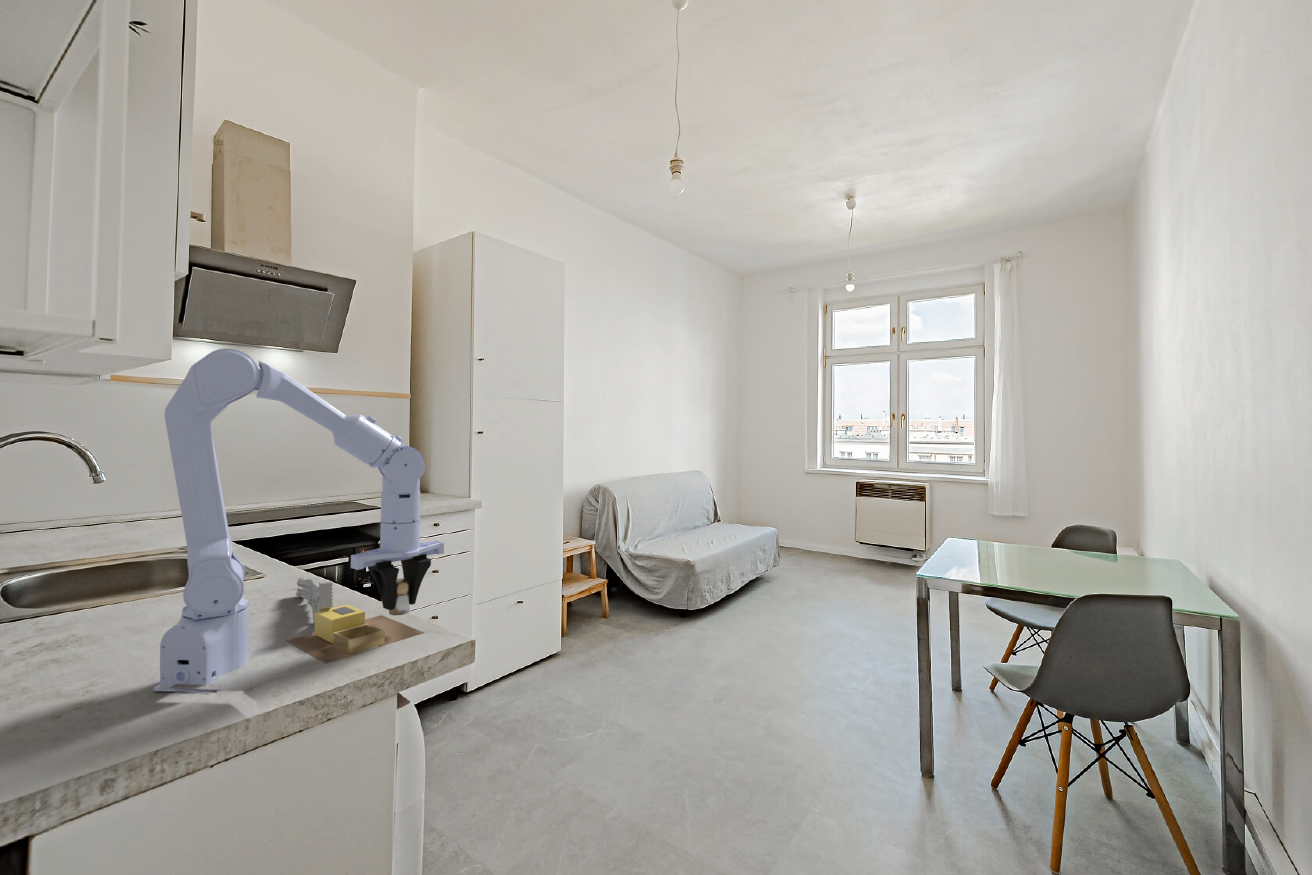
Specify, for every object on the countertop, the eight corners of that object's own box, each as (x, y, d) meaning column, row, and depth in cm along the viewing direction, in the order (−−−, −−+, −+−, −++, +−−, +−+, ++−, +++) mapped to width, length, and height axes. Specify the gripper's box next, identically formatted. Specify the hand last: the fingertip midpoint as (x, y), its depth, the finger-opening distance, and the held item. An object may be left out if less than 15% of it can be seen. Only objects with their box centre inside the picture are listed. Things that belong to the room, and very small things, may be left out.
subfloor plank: (325, 671, 80) (325, 648, 80) (285, 648, 88) (285, 627, 88) (424, 639, 92) (424, 620, 92) (381, 621, 100) (381, 603, 100)
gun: (320, 632, 89) (319, 581, 90) (295, 617, 112) (294, 576, 113) (334, 629, 90) (332, 579, 91) (306, 615, 114) (305, 575, 115)
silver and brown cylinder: (404, 615, 90) (405, 583, 90) (385, 615, 90) (385, 583, 90) (412, 609, 93) (413, 578, 93) (394, 608, 93) (394, 578, 93)
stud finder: (331, 643, 87) (331, 619, 87) (314, 634, 90) (314, 611, 90) (364, 633, 91) (364, 610, 91) (347, 625, 94) (347, 603, 94)
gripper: (368, 530, 83) (366, 623, 84) (455, 518, 95) (454, 600, 95) (344, 524, 87) (343, 612, 88) (430, 513, 99) (429, 591, 99)
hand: (399, 605), depth 92 cm, fingers closed on silver and brown cylinder, 3 cm apart
